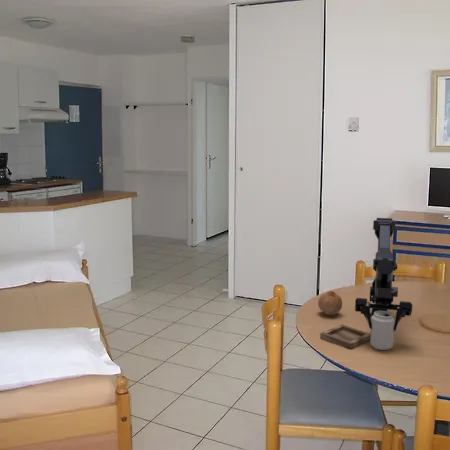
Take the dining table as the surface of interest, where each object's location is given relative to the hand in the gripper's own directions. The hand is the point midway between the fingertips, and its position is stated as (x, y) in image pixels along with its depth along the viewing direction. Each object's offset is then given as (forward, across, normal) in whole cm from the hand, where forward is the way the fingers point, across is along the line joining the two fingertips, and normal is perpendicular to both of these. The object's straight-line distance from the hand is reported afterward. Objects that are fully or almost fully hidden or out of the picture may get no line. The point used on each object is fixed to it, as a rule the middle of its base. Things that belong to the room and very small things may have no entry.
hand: (382, 329), depth 183 cm
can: (+4, 0, +6) cm, 7 cm away
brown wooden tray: (0, -12, +10) cm, 16 cm away
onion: (-16, -19, +27) cm, 37 cm away
